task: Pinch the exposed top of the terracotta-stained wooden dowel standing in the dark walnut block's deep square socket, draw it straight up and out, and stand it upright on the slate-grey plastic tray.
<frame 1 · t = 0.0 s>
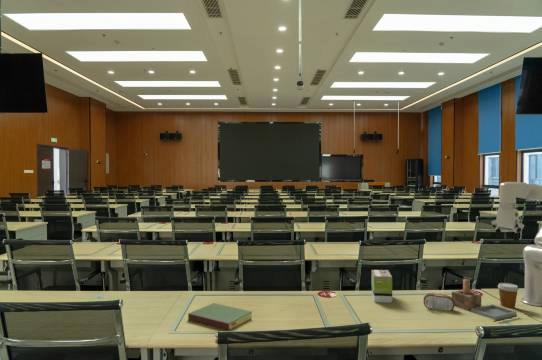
hand: (507, 239, 213), 37 cm above the table, tool pointing down, fingers open, 9 cm apart
tea box: (381, 298, 231), on the table
hardcover book: (221, 320, 197), on the table
disposable coffee cup: (507, 308, 216), on the table
tin: (438, 311, 211), on the table
tray: (493, 315, 205), on the table
socket block: (466, 308, 215), on the table
dowel: (466, 306, 215), point 1 cm above the table, touching socket block
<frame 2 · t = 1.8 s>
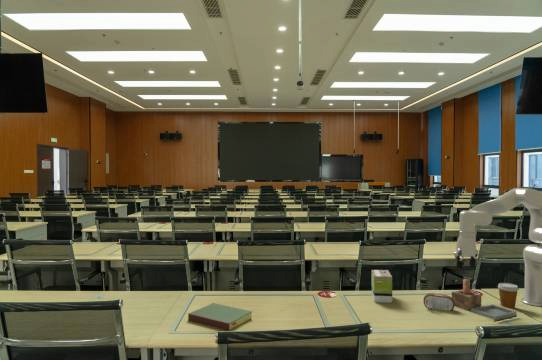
hand: (466, 267, 214), 22 cm above the table, tool pointing down, fingers open, 9 cm apart
nothing on the table moved.
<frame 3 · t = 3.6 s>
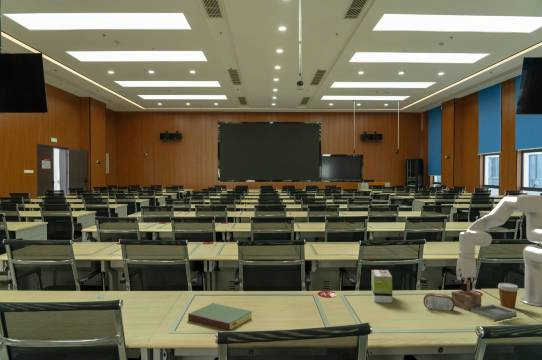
hand: (466, 289, 215), 10 cm above the table, tool pointing down, fingers closed on dowel, 3 cm apart
dowel: (466, 306, 215), point 1 cm above the table, touching gripper, socket block
everything else where it was.
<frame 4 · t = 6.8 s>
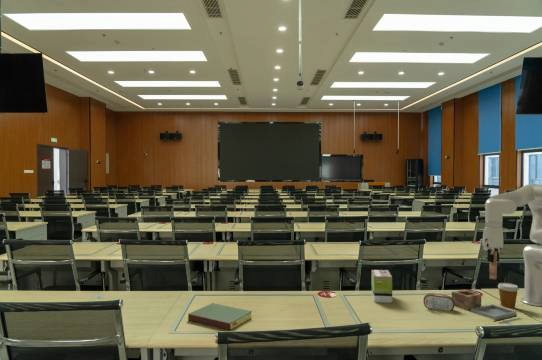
hand: (493, 261, 205), 27 cm above the table, tool pointing down, fingers closed on dowel, 3 cm apart
dowel: (493, 278, 205), point 18 cm above the table, touching gripper
everything else where it was.
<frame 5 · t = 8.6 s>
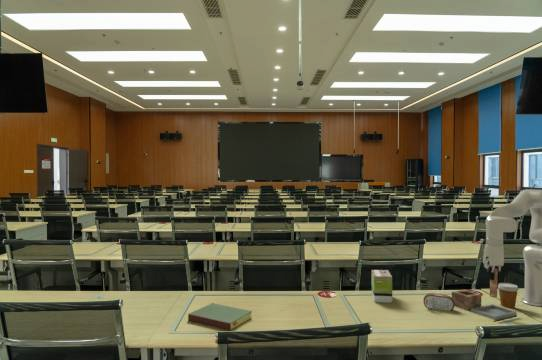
hand: (493, 279, 204), 18 cm above the table, tool pointing down, fingers closed on dowel, 3 cm apart
dowel: (493, 296, 204), point 10 cm above the table, touching gripper
everything else where it was.
when the fingers open (11 cm above the table, at t = 10.2 s): dowel drops 1 cm, resting on tray.
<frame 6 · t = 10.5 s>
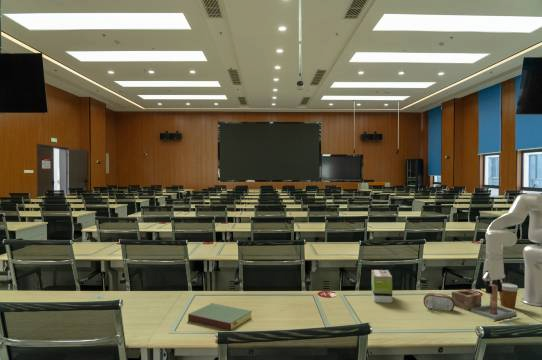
hand: (493, 292, 204), 12 cm above the table, tool pointing down, fingers open, 6 cm apart
dowel: (493, 313, 205), point 1 cm above the table, touching tray
everything else where it was.
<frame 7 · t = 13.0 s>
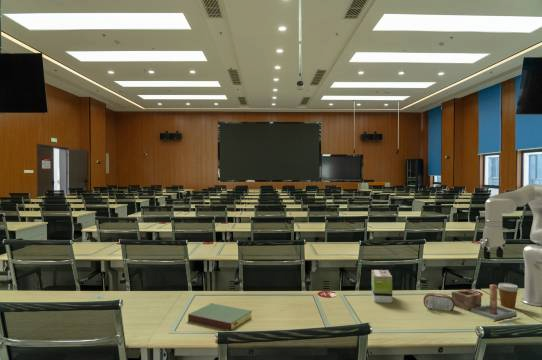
hand: (493, 258, 205), 28 cm above the table, tool pointing down, fingers open, 9 cm apart
nothing on the table moved.
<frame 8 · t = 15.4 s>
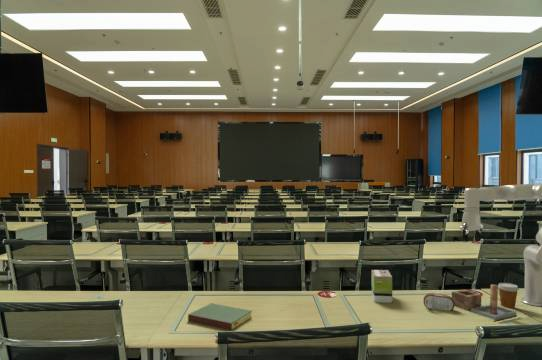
hand: (471, 240, 228), 33 cm above the table, tool pointing down, fingers open, 9 cm apart
nothing on the table moved.
at the end: dowel inside the target area on the tray (0.0 cm from its centre), point 1.0 cm above the tray's base; dowel tilted 1°; the gripper is holding nothing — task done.
